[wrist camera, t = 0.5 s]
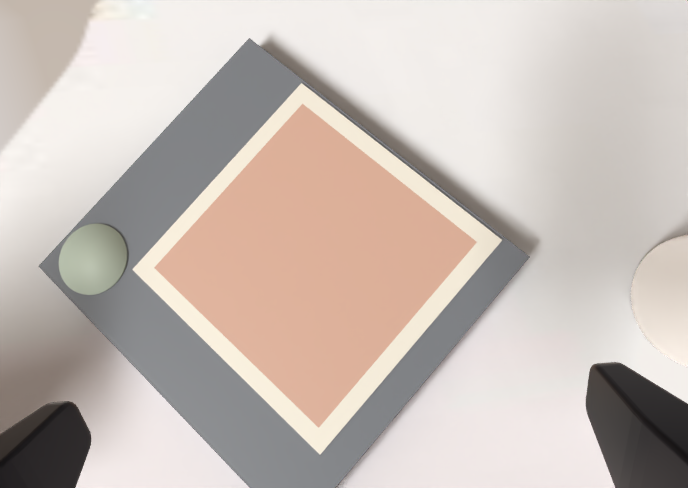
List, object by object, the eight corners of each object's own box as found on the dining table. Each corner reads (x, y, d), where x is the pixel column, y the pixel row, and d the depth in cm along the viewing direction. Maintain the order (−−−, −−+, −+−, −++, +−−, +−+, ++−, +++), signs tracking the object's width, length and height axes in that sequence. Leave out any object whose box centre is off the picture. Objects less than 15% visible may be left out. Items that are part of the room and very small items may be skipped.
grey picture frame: (523, 260, 22) (530, 256, 21) (300, 525, 21) (294, 536, 20) (254, 49, 26) (248, 37, 24) (52, 268, 25) (36, 265, 23)
